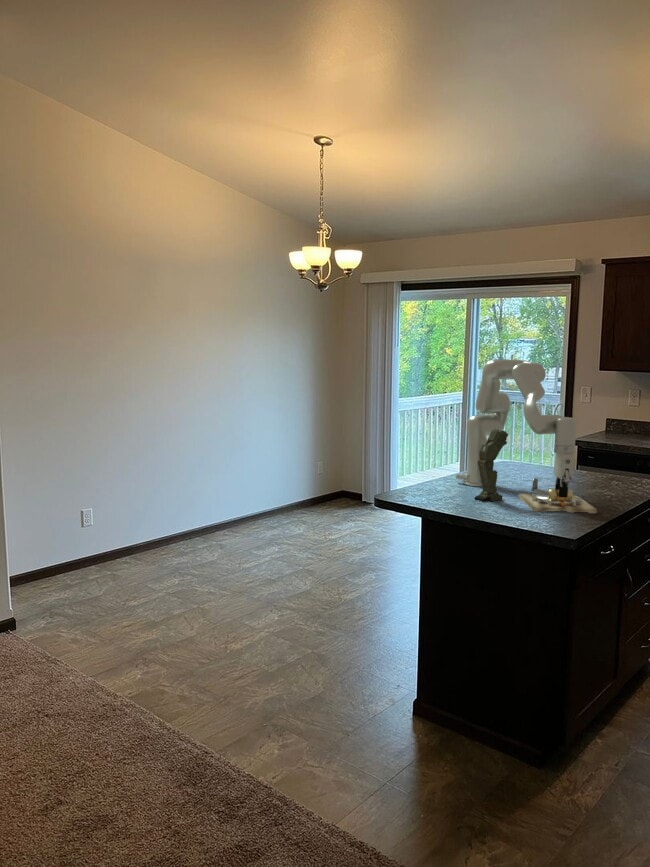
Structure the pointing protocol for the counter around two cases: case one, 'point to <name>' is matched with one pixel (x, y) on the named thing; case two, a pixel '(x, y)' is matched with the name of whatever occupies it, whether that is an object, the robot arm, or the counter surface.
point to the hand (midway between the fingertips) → (561, 495)
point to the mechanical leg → (490, 465)
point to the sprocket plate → (545, 507)
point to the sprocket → (543, 495)
